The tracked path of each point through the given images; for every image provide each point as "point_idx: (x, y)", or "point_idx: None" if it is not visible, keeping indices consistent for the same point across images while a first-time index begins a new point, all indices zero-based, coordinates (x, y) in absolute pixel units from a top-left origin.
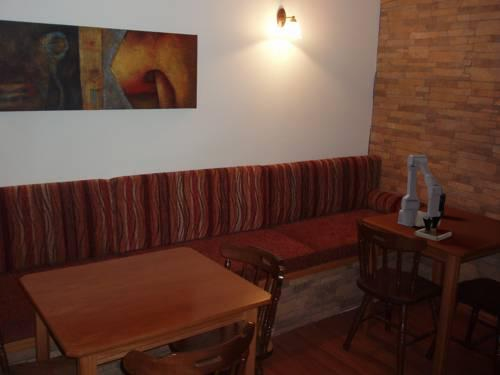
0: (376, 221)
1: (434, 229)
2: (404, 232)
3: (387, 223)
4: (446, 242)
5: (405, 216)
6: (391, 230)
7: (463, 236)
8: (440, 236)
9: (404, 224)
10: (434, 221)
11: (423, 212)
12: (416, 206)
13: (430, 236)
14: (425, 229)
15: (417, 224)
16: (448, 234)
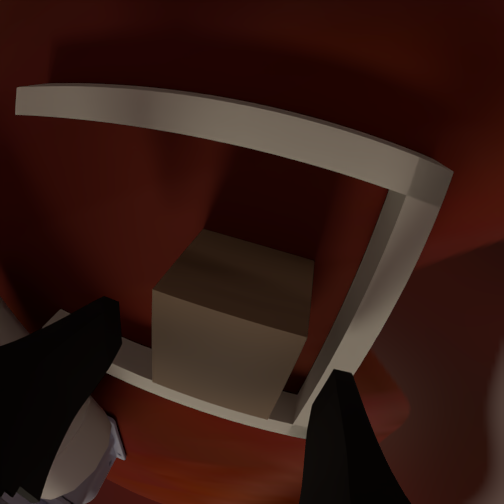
0: (179, 500)
1: (197, 315)
2: (279, 452)
3: (166, 482)
4: (406, 29)
5: (93, 481)
6: (286, 487)
7: (12, 3)
8: (340, 142)
9: (118, 443)
10: (54, 409)
11: None
12: (5, 496)
13: (397, 289)
14: (270, 408)
15: (108, 426)
16: (88, 85)
